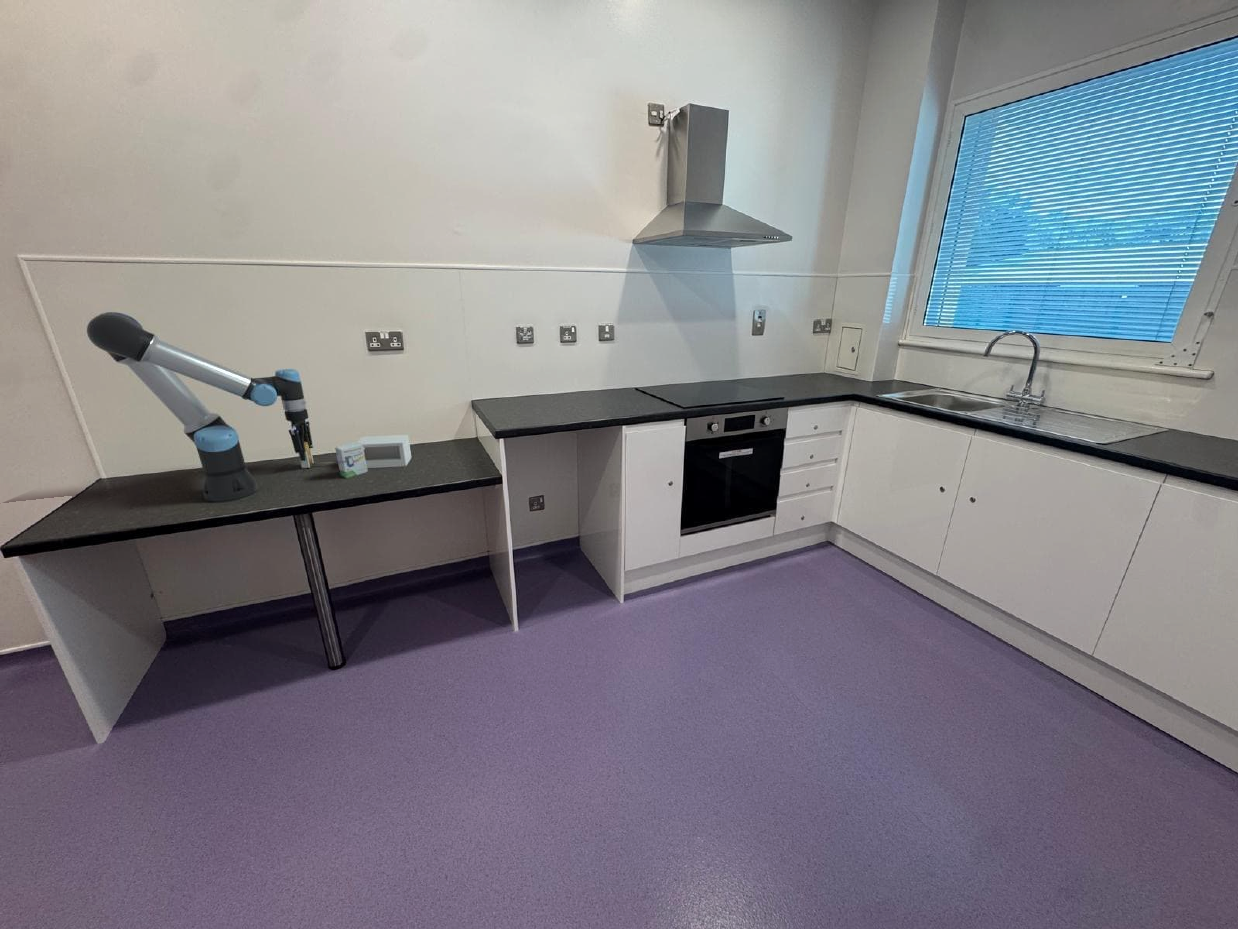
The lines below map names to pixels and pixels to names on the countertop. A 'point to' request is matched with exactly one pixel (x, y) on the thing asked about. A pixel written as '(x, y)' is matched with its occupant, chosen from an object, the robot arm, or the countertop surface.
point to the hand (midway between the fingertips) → (308, 465)
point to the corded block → (310, 456)
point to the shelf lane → (386, 450)
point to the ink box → (351, 459)
